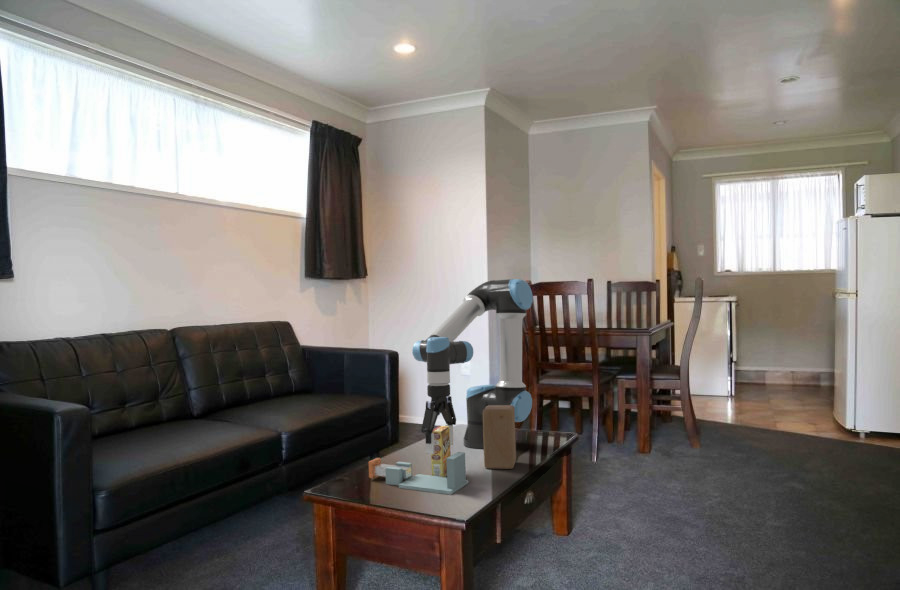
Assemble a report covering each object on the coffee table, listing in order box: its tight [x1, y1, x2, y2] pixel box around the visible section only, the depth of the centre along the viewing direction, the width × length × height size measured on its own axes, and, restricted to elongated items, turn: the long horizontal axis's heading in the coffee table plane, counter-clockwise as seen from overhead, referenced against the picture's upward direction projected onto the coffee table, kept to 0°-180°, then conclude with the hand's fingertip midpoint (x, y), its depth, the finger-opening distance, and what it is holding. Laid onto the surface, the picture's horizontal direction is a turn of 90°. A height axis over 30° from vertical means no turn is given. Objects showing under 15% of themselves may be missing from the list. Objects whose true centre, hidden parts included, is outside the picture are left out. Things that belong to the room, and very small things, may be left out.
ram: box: [368, 457, 411, 480], centre depth 194 cm, size 5×13×5 cm, turn 63°
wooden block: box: [483, 405, 517, 470], centre depth 207 cm, size 10×10×20 cm
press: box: [385, 451, 469, 495], centre depth 188 cm, size 12×24×10 cm, turn 63°
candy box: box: [430, 425, 452, 477], centre depth 198 cm, size 9×4×15 cm, turn 162°
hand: (439, 449), depth 198 cm, fingers open, 13 cm apart
